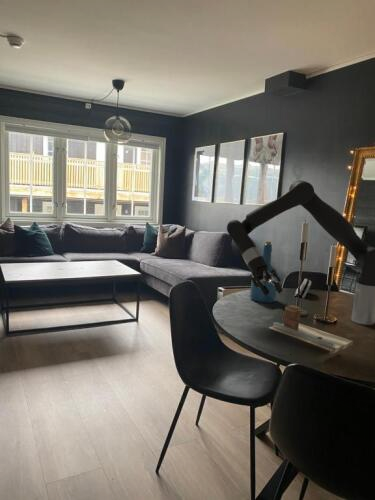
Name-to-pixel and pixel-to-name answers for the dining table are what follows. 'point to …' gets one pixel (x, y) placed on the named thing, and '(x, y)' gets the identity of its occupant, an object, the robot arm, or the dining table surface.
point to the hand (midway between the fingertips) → (274, 293)
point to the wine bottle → (256, 292)
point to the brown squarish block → (292, 316)
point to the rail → (304, 335)
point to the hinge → (304, 288)
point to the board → (339, 341)
